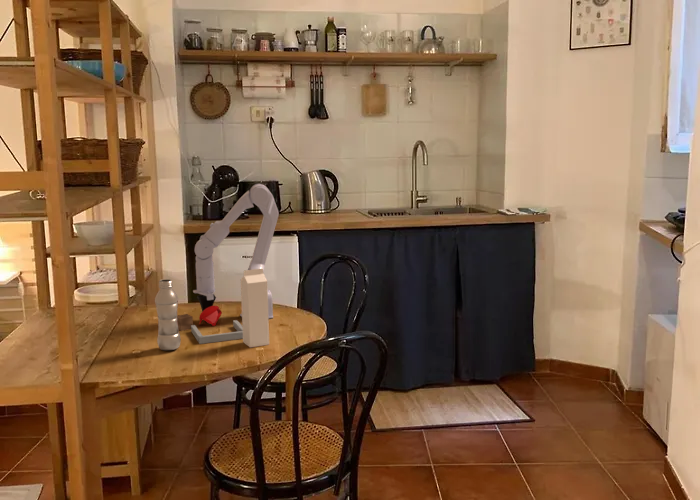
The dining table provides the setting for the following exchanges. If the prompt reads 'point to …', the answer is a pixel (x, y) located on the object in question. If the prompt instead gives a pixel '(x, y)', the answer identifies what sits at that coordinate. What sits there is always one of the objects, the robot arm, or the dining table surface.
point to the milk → (254, 308)
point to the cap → (210, 315)
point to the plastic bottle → (167, 316)
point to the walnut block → (184, 322)
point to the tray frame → (218, 337)
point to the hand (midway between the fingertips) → (207, 316)
